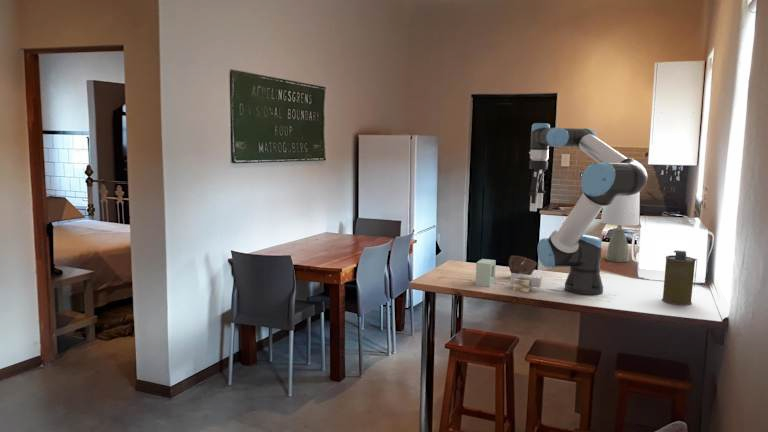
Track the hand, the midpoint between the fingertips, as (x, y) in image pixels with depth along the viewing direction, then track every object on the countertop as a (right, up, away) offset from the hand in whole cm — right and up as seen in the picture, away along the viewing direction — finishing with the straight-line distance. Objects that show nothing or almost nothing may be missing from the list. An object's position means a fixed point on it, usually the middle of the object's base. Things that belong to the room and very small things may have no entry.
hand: (536, 209), depth 256 cm
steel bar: (-7, -31, -9) cm, 33 cm away
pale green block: (-22, -32, -2) cm, 39 cm away
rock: (-4, -31, +11) cm, 33 cm away
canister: (+49, -36, -23) cm, 66 cm away
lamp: (+57, -26, +56) cm, 84 cm away
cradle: (-7, -33, -8) cm, 35 cm away
